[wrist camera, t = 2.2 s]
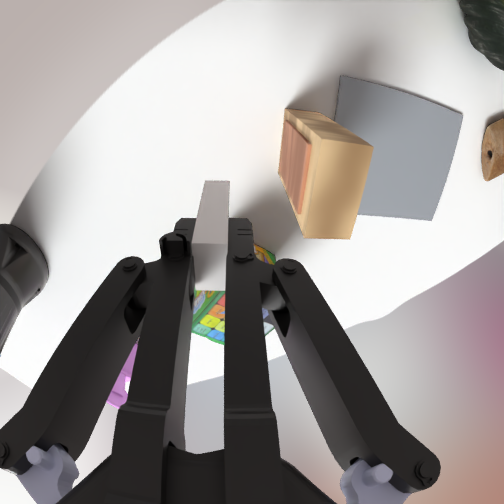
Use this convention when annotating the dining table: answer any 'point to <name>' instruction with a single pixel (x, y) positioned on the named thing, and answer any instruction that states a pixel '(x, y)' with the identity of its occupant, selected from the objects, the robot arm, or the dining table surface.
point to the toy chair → (122, 381)
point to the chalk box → (222, 308)
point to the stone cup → (493, 150)
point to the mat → (399, 147)
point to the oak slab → (323, 173)
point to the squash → (486, 28)
